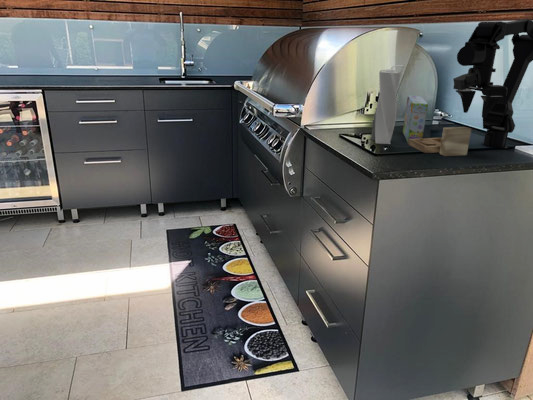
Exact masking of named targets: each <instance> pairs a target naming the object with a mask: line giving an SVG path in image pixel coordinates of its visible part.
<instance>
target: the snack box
mask: <svg viewBox="0 0 533 400" xmlns="http://www.w3.org/2000/svg"><path fill="white" fill-rule="evenodd" d="M406 100H407V101H406V108H405V113H404V122H403V128H402V134H403V135H404V137H405V140H406V143H408V141H409V139H422V138H423V137H424V131H425V124H426V121H427V120H426V119H427V114H428V106H429V103H428V102H427V101H426V100H425V98H423V97H422V96H420V95H407V99H406Z"/></svg>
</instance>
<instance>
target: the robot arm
mask: <svg viewBox="0 0 533 400" xmlns="http://www.w3.org/2000/svg"><path fill="white" fill-rule="evenodd" d="M525 33H526V34H525ZM506 36H512V37H511V39H510V40H511V43H512V46H513V48H512V54H513V60H512V63H511V66H510V67H509V70H508V72H507V75H506V77H505V79H504V82H503V84H502V85H501V84H494V81H493V82H492V75H493V73H496V71H497V70H496V69H497V68H494V65H495V60H496V59H495V58H496V53H497V50H500V49H501V46H500V45H499V44H498V42H500V41H502V40H504V39H505V37H506ZM456 61H457V62H458V64H459V65H460V66H463V67H467V66H468V67H469V66H472V67H469V68H468V72H467V73H463V74H461V75H459V76H456V77H454V78H452V79H453V90H455V92H456V93H458V95H459V96H460V99H461V104H462V111H463V113H465V114H467V113H468V112H469V110H470V107H471V105H472V103H473V100H474V98H475V95H476V92H477V91H478V92H481V93H482V95H480V98H481V99H482V109H481V118H482V128H483V129H484V130H486V133H485V134H484V139H483V146H485V147H487V148H488V147H489V148H490V147H491V148H498V149H499V148H500V149H503V150H509V146H506V145H507V140H508V135H509V133H510V134H511V133H513V132H514V131H515V127H516V124H515V121H514V119H513V115H514V109H513V105H512V104H513V101H514V99H515V97H516V95H517V92H518V91H519V88H520V86H521V84H522V81H523V79H524V77H525V74H526V72H527V70H528V67H529V65H530V63H531V62H532V61H533V20H532V19H528V18H527V19H525V18H523V19H516V20H511V21H501V20H500V21H494V20H493V21H480V22H479V23H478V24H477V26H476V27H475V28H474V30H473V32H472V33H471V35H470V37H469V39H468V41H466V42H465V43H464V46H462V47H460V49H459V50H458V52H457V55H456Z"/></svg>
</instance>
